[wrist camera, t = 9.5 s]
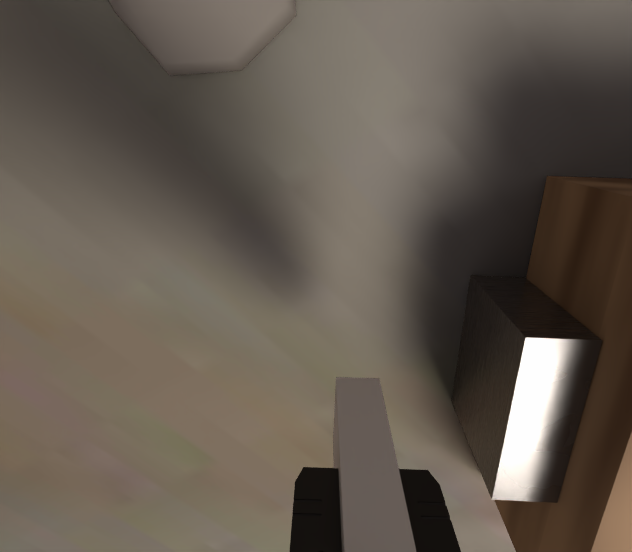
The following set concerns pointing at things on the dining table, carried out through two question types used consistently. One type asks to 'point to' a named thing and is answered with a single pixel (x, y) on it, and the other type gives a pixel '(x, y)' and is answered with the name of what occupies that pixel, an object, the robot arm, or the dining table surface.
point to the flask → (204, 30)
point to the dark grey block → (521, 386)
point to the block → (609, 374)
